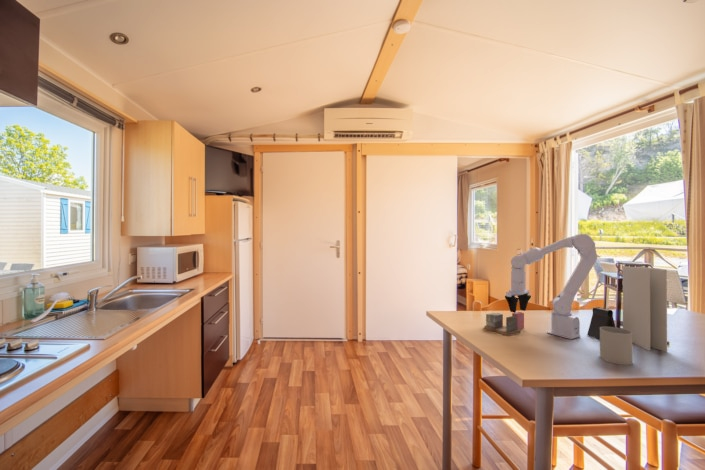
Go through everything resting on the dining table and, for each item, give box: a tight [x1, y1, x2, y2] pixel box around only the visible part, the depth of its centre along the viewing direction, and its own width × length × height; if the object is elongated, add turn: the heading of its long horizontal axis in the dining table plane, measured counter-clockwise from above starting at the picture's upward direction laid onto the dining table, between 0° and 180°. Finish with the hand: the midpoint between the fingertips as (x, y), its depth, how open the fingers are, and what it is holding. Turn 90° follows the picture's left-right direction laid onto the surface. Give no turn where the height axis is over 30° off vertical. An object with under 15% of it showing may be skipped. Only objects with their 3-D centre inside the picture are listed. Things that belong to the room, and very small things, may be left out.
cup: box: [599, 326, 633, 366], centre depth 102 cm, size 8×8×10 cm
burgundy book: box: [511, 311, 525, 330], centre depth 136 cm, size 2×5×7 cm, turn 119°
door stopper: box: [586, 306, 617, 340], centre depth 125 cm, size 9×6×12 cm, turn 104°
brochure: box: [622, 265, 668, 353], centre depth 116 cm, size 14×6×30 cm, turn 168°
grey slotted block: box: [483, 312, 522, 337], centre depth 133 cm, size 12×8×7 cm, turn 29°
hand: (517, 311), depth 137 cm, fingers open, 7 cm apart
